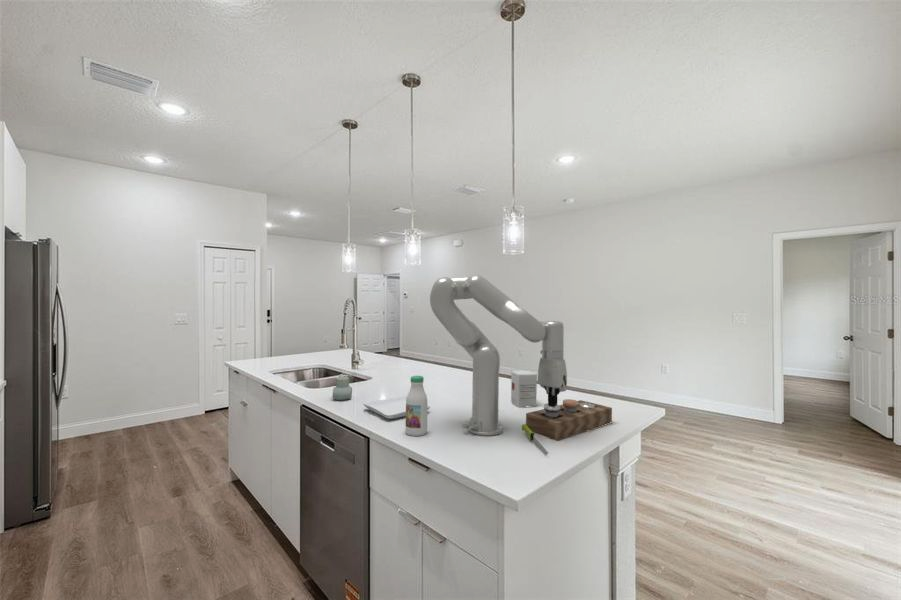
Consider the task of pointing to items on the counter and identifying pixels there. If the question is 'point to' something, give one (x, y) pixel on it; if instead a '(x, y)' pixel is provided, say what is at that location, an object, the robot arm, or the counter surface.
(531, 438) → the kitchen knife
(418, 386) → the milk bottle
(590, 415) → the brown wooden rectangular block
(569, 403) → the knob middle
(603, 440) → the counter surface
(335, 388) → the air freshener
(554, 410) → the knob near
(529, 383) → the supplement box
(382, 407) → the salad plate
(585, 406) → the knob far
